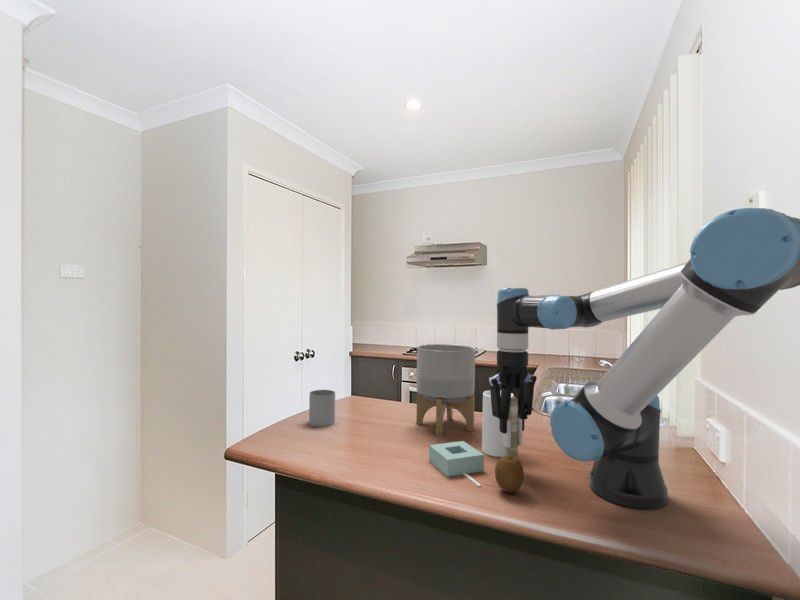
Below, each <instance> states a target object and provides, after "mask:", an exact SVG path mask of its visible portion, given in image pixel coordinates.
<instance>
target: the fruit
mask: <svg viewBox="0 0 800 600" xmlns="http://www.w3.org/2000/svg"><path fill="white" fill-rule="evenodd" d="M494 475H495V481H496V483H497V485H498V487H499V488H500V489H501V490H503V491H505V492H506V493H514V492H517V491H518V490H519V489H520V488H521V487H522V486H523V483H524V479H525V472H524V467H523V464H522V463H521V461H520V460H519V458H518V459H517V458H515V457H512V456H511V455H508V456H503V457H499V458H498V460H497V462H496V463H495V467H494Z"/></svg>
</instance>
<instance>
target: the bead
mask: <svg viewBox="0 0 800 600" xmlns="http://www.w3.org/2000/svg"><path fill="white" fill-rule="evenodd" d="M428 450H429V453H428V454H429V455H428V461H429V462H430V463H431V464H432V465H433V466H434V467H436V469H438V470H439V471H440V472H441V473H443V474H444V475H445V476H446V477H447V478H448V477H453V476H454V477H455V476H460V475H463V473H466V474H473V473H479V472H484V471H485V470H484V469H485V468H484V467H485V458H484V457H485V453H482V452H481V451H480V450H478V449H476V448H474V447H473V446H472V445H470V444H469V443H467V442H466V441H464V440H461V441H451V442H445V443H438V444H437V443H436V444H430V445H429V449H428Z"/></svg>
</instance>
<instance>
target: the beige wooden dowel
mask: <svg viewBox="0 0 800 600" xmlns="http://www.w3.org/2000/svg"><path fill="white" fill-rule="evenodd" d="M508 420H511V447H510V448H508V447H506V456H508V455H511V456H512V457H515V458H517V459H518V460H519V457H518V454H519V445H518V397H514V395H513V396H511V399H510V408H509V417H508Z"/></svg>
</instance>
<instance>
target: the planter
mask: <svg viewBox="0 0 800 600" xmlns="http://www.w3.org/2000/svg"><path fill="white" fill-rule="evenodd" d="M475 373H476V347H474V346H470V345H464V344H463V345H462V344H455V343H454V344H453V343H447V344H446V343H429V344H420V345H418V346H416V420H415V421H416V425H421V424H422V423H423V424H424V418H425V415H426V414H427V412H428V411H429V410H431V409H432V408H434V407H435V411H436V412H435V436H437V435H438V436H439V437H441V436H442V435H443V424H444V417H445V412H446V420H447V419H452V420H453V416H454V414H453V412H454V411H453V409H455V410H456V411H458V412H459V413H460V414H461V415H462V416H463V418H464V420H465V422H466V423H465V424H466V426H467V427H466V429H467V431H472V430H473V431H474V429H475V390H476V389H475V385H476V383H475V381H476V380H475V378H476V374H475ZM423 424H422V425H423Z"/></svg>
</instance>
